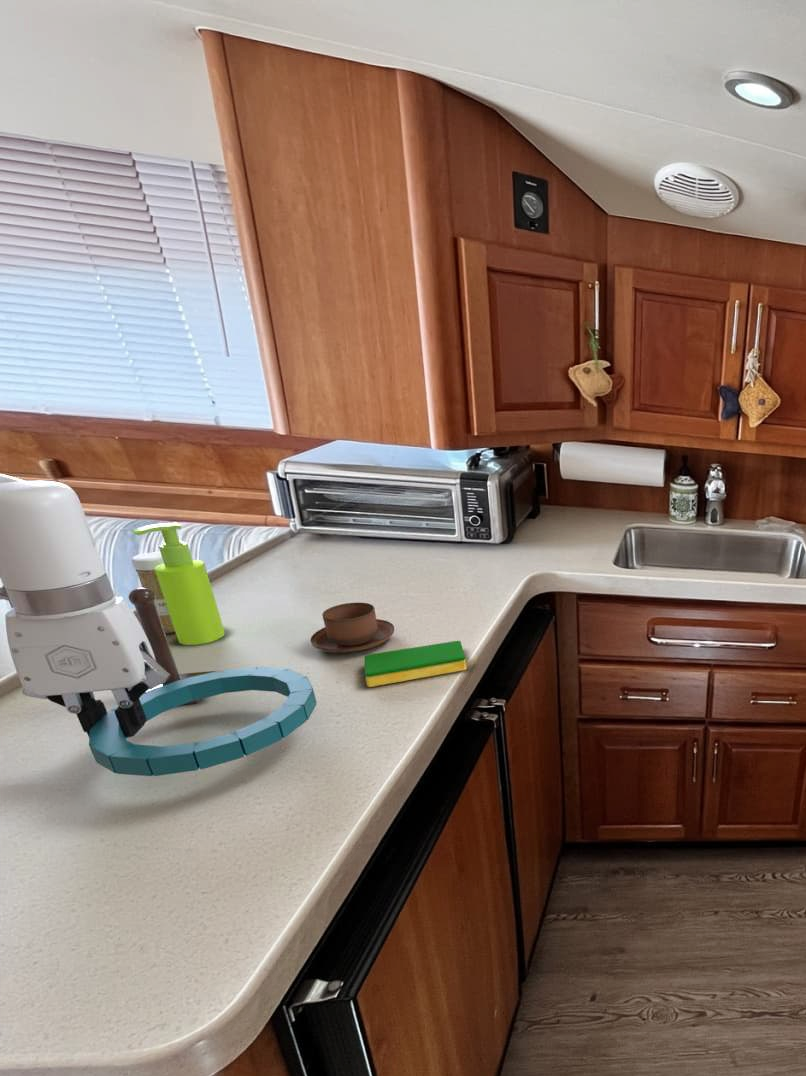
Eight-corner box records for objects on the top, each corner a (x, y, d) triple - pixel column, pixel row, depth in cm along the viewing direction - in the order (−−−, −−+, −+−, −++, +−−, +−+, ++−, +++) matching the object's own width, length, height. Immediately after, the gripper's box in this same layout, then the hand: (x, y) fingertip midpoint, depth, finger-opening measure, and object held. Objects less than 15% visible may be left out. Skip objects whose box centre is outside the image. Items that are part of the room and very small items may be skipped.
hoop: (52, 790, 68) (43, 772, 67) (150, 692, 86) (144, 677, 85) (287, 758, 76) (282, 741, 75) (333, 674, 94) (329, 660, 93)
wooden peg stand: (124, 710, 88) (82, 601, 82) (153, 682, 95) (116, 579, 88) (197, 703, 91) (162, 597, 84) (220, 675, 98) (189, 576, 91)
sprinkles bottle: (176, 634, 108) (152, 560, 103) (148, 633, 108) (122, 558, 102) (199, 623, 112) (176, 551, 107) (172, 622, 112) (148, 550, 107)
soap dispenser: (165, 639, 106) (126, 524, 99) (218, 626, 112) (185, 517, 104) (176, 650, 103) (137, 533, 96) (230, 637, 109) (197, 525, 101)
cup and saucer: (297, 647, 107) (288, 614, 105) (368, 622, 118) (361, 592, 115) (341, 666, 103) (333, 632, 101) (411, 639, 113) (405, 607, 111)
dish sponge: (367, 667, 103) (364, 654, 102) (461, 652, 110) (460, 639, 109) (367, 688, 98) (364, 674, 97) (467, 670, 105) (465, 657, 104)
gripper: (-67, 614, 64) (6, 762, 71) (139, 601, 70) (189, 740, 77) (-13, 587, 71) (49, 725, 78) (172, 578, 76) (215, 707, 84)
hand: (118, 731), depth 77 cm, fingers closed on hoop, 2 cm apart
